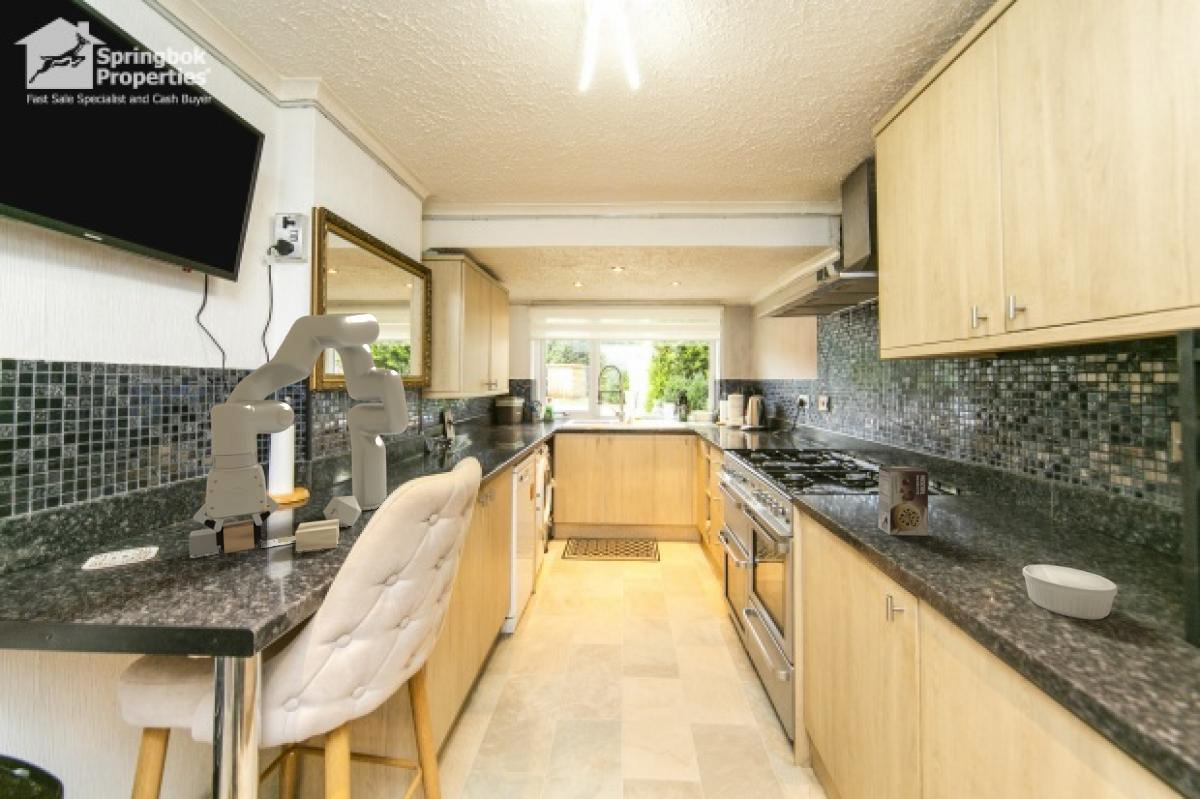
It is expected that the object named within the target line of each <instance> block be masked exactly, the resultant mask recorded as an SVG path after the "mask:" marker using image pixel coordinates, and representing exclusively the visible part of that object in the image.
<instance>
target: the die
mask: <svg viewBox="0 0 1200 799" xmlns="http://www.w3.org/2000/svg"><path fill="white" fill-rule="evenodd" d="M362 511H363V510H361V509H360V507H359V505H358V503H357V500H356V498H355V496H353V495H344V496H342V495H341V496H333V497H332V498H331V500H330V501H329V502H328V504H327V506H326V507H325V508H324V510H323V511H322V513H323V516H325V520H334V519H339V527H344V526H353V527H354V525H355V523H356V522H357V520H358V519H359V517H360V516H361V514H362Z"/></svg>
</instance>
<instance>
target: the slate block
mask: <svg viewBox="0 0 1200 799" xmlns="http://www.w3.org/2000/svg"><path fill="white" fill-rule="evenodd" d="M219 548H220V549H221V545H220V546H217V544H216V532H215V531H214V530H213V529H211V528H204V529H198V530H192V531H191V532H190V534H189V536H188V549H189V550H188V551H189V555H190V554H198V553H206V552H214V551H219Z"/></svg>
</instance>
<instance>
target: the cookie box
mask: <svg viewBox="0 0 1200 799" xmlns="http://www.w3.org/2000/svg"><path fill="white" fill-rule="evenodd" d="M877 521H878V523H877V526H878V529H880V530H881V531H883V532H884V533H886V534H887V535H889V536H929V471H928V470H925V469H924V468H922V467H921V468H920V467H917V466H878V520H877Z"/></svg>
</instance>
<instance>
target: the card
mask: <svg viewBox="0 0 1200 799" xmlns="http://www.w3.org/2000/svg"><path fill="white" fill-rule="evenodd" d="M291 536H292V537H287V536H285V537H286V538H283V537H284V536H282V538H281V537H279V538H280V539H278V543H281V542H288V541H294V540H296V537H295V536H293V535H291ZM273 541H274V540H273ZM274 542H275V541H274Z"/></svg>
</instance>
